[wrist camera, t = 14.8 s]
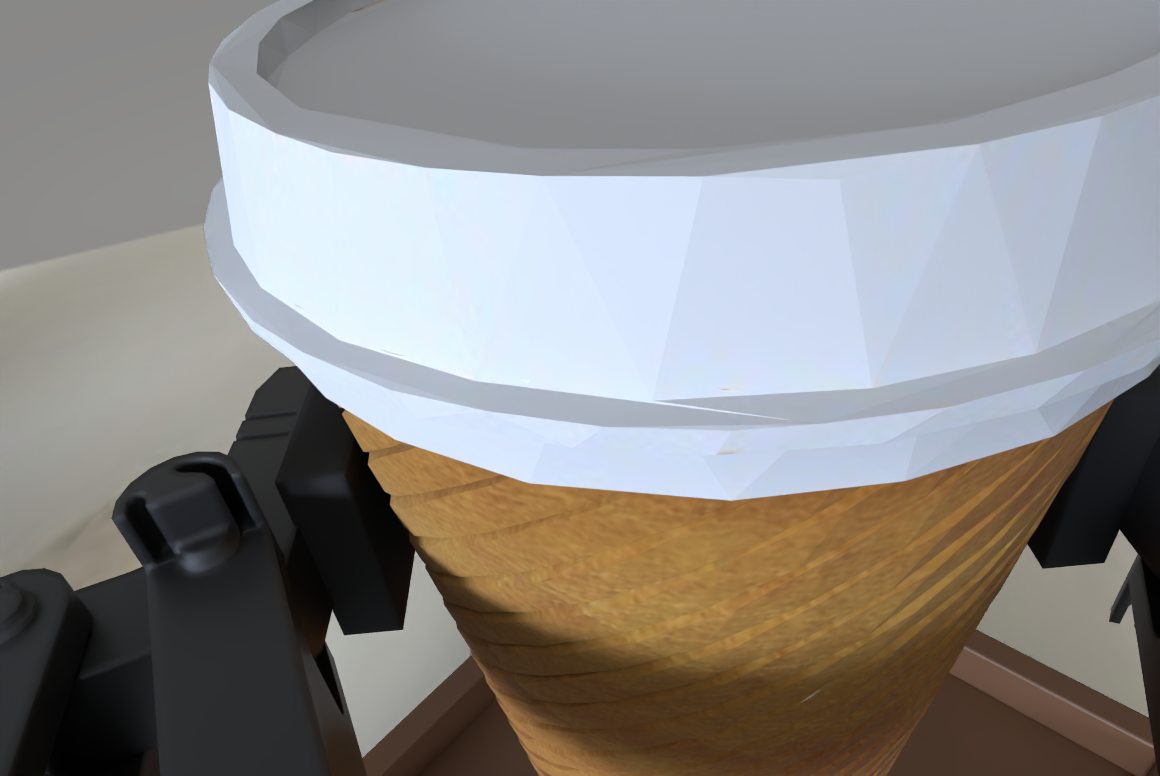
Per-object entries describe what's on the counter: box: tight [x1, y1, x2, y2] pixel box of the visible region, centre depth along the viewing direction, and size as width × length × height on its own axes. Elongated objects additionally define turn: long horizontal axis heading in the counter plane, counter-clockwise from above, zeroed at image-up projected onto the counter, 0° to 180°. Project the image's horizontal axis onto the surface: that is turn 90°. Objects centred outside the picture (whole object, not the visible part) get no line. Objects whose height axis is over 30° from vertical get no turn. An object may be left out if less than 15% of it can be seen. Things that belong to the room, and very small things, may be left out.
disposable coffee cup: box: [203, 0, 1160, 776], centre depth 11 cm, size 10×10×12 cm
